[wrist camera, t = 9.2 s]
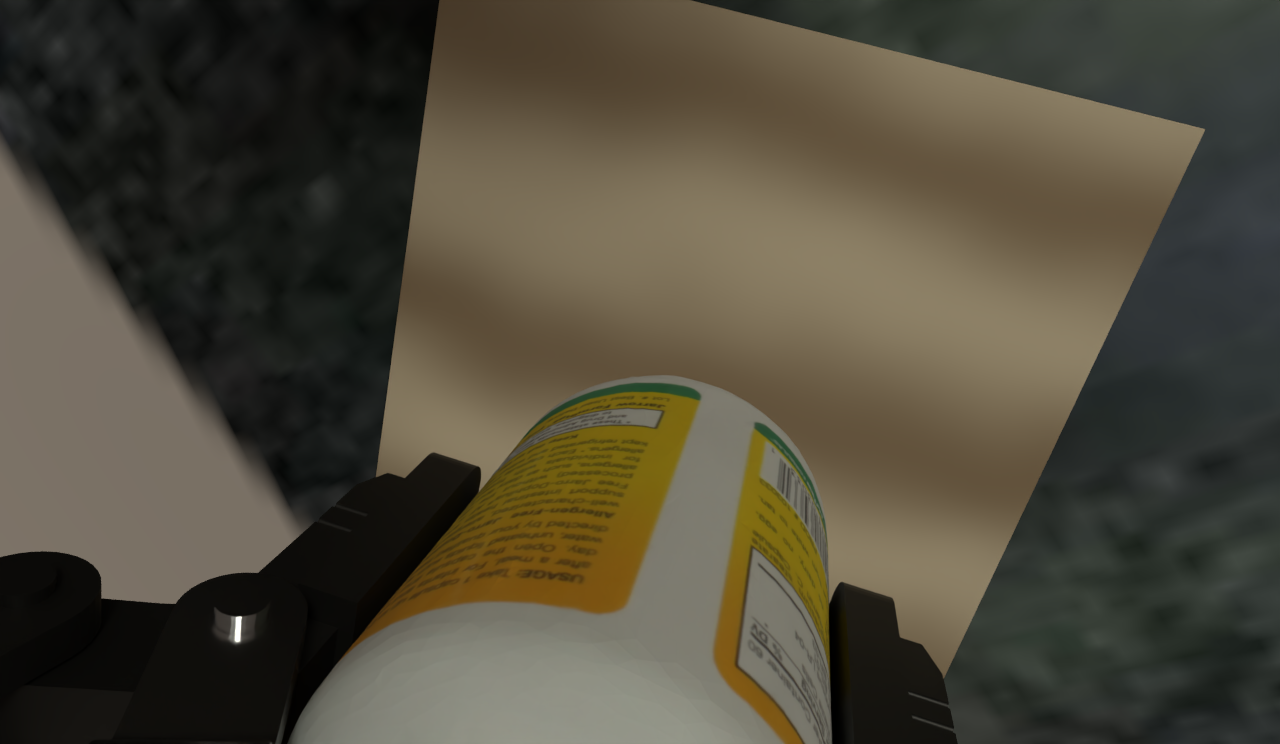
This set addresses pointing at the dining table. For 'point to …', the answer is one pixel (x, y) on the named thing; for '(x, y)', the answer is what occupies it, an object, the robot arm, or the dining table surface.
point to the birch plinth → (773, 261)
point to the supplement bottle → (609, 591)
